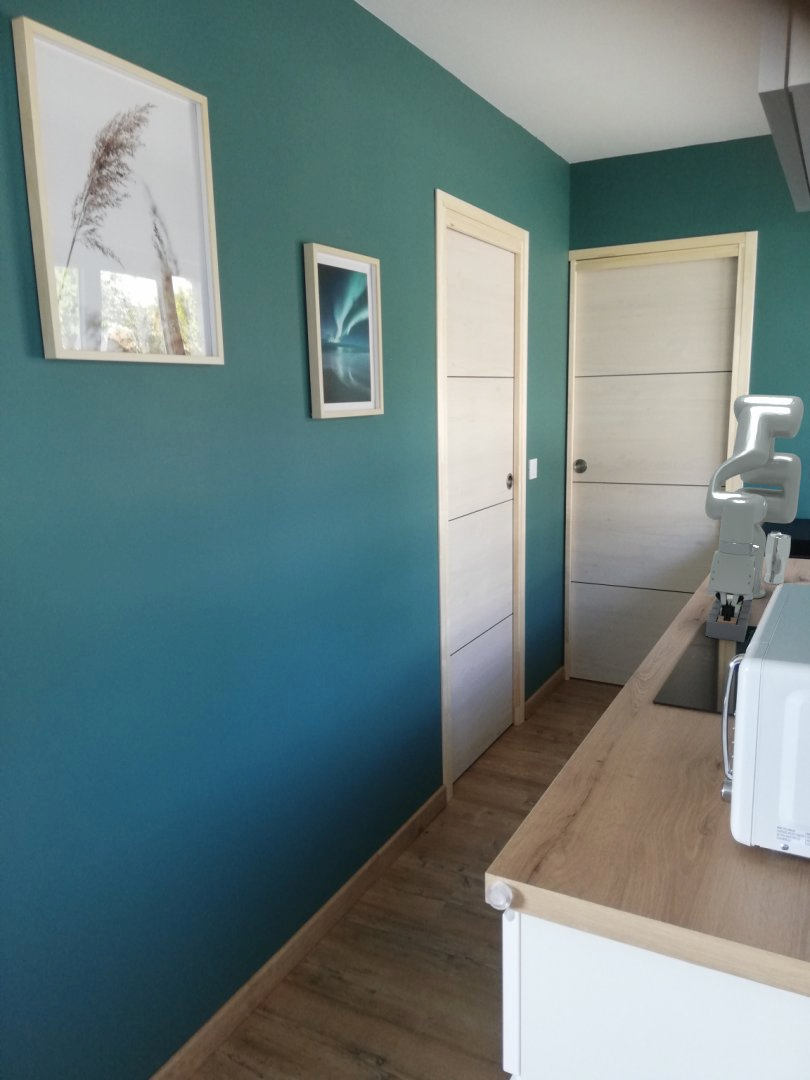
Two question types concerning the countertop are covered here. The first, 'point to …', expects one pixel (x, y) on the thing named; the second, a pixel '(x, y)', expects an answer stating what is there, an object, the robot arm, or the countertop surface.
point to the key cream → (730, 597)
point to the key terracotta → (732, 621)
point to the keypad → (726, 629)
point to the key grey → (735, 612)
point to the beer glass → (776, 557)
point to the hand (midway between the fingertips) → (727, 619)
